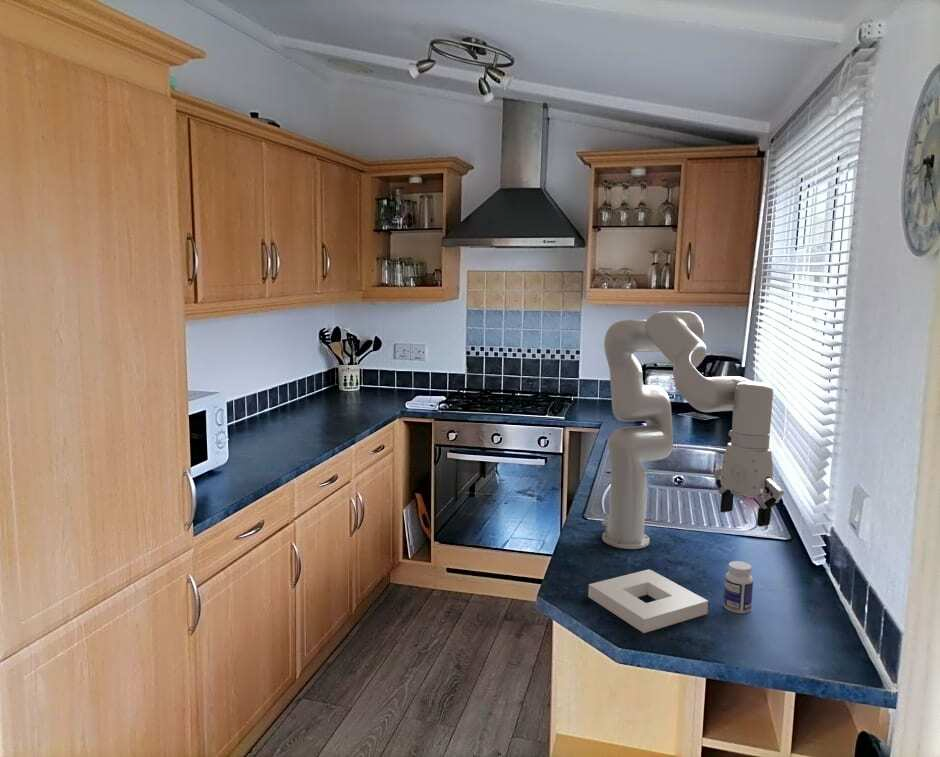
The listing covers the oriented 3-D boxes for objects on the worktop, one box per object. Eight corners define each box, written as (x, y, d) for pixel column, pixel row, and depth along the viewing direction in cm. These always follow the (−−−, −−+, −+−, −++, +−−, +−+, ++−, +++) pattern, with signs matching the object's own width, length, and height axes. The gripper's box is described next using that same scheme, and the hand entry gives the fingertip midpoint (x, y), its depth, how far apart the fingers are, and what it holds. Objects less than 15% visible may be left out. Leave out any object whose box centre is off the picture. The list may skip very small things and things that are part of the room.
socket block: (588, 596, 159) (588, 584, 159) (648, 581, 168) (649, 569, 167) (643, 633, 144) (644, 619, 143) (707, 613, 152) (708, 600, 152)
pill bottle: (744, 602, 158) (747, 559, 157) (755, 614, 152) (759, 570, 151) (718, 602, 158) (722, 559, 156) (729, 614, 152) (732, 570, 151)
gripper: (705, 433, 155) (700, 508, 158) (773, 451, 140) (766, 534, 143) (729, 430, 159) (724, 504, 161) (797, 447, 144) (791, 528, 146)
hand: (744, 518), depth 152 cm, fingers open, 9 cm apart
